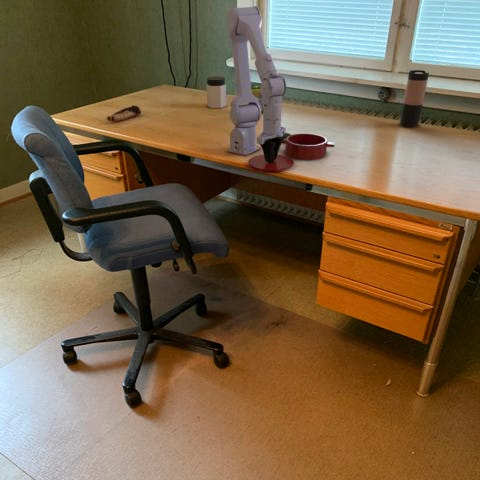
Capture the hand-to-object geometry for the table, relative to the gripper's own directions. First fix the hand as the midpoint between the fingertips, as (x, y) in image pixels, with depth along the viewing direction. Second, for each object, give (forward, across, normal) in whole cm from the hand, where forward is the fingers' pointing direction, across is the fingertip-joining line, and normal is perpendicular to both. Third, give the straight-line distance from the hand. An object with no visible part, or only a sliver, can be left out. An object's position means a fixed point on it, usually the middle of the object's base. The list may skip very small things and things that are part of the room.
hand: (270, 160), depth 165 cm
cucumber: (+2, +24, +11) cm, 26 cm away
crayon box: (+2, +53, +41) cm, 67 cm away
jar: (+2, +52, +63) cm, 82 cm away
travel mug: (+2, +72, -22) cm, 75 cm away
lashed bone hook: (+2, +12, +84) cm, 85 cm away
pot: (+2, +17, -4) cm, 18 cm away
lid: (+1, 0, 0) cm, 1 cm away
